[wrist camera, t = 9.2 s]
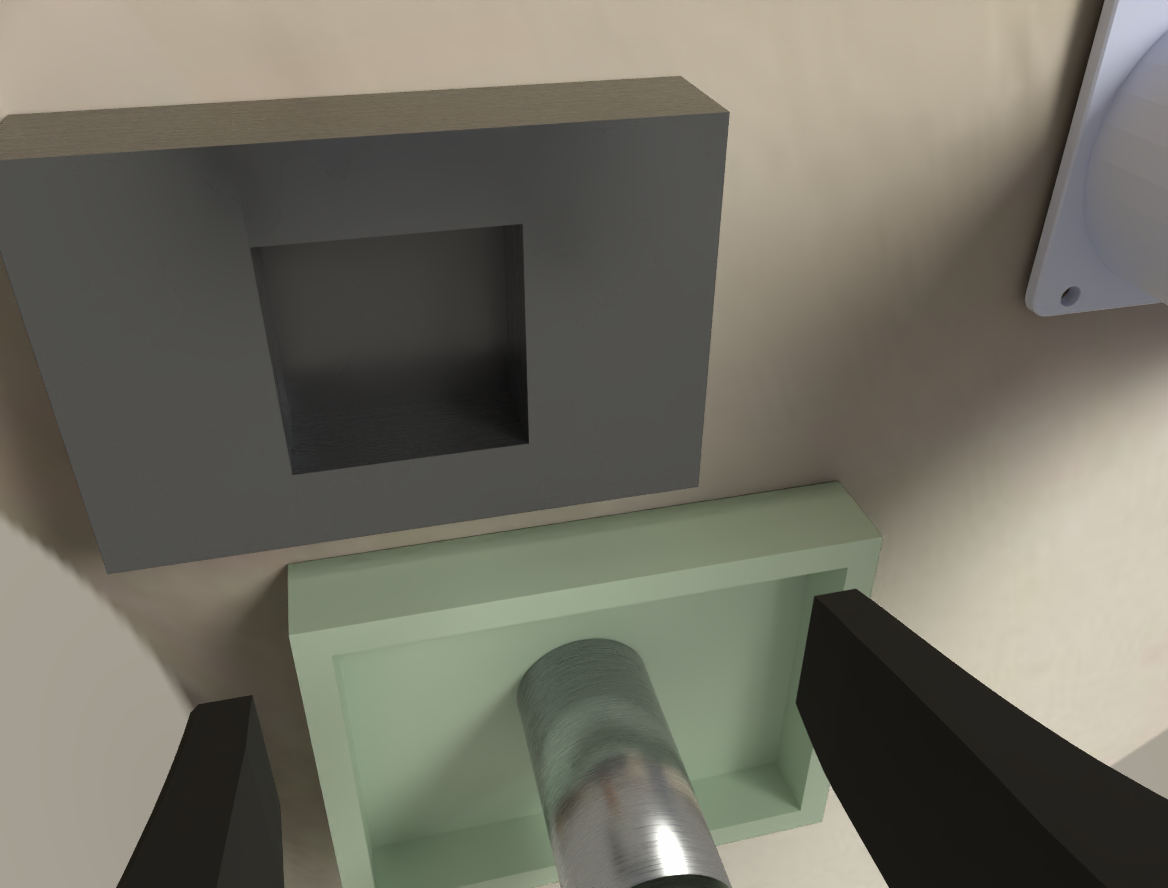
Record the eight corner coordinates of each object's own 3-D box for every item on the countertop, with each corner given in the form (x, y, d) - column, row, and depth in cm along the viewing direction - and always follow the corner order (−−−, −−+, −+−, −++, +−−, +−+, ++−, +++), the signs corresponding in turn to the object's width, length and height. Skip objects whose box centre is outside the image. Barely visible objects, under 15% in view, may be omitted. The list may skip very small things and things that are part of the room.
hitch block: (680, 75, 20) (729, 112, 17) (661, 424, 24) (698, 486, 22) (7, 114, 17) (-30, 162, 15) (124, 496, 21) (107, 574, 19)
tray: (838, 481, 26) (883, 536, 24) (789, 759, 32) (821, 822, 30) (287, 564, 23) (288, 635, 22) (346, 853, 30) (351, 929, 28)
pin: (628, 619, 26) (736, 895, 20) (659, 704, 28) (766, 979, 22) (498, 669, 26) (565, 964, 20) (540, 751, 28) (611, 1040, 22)
